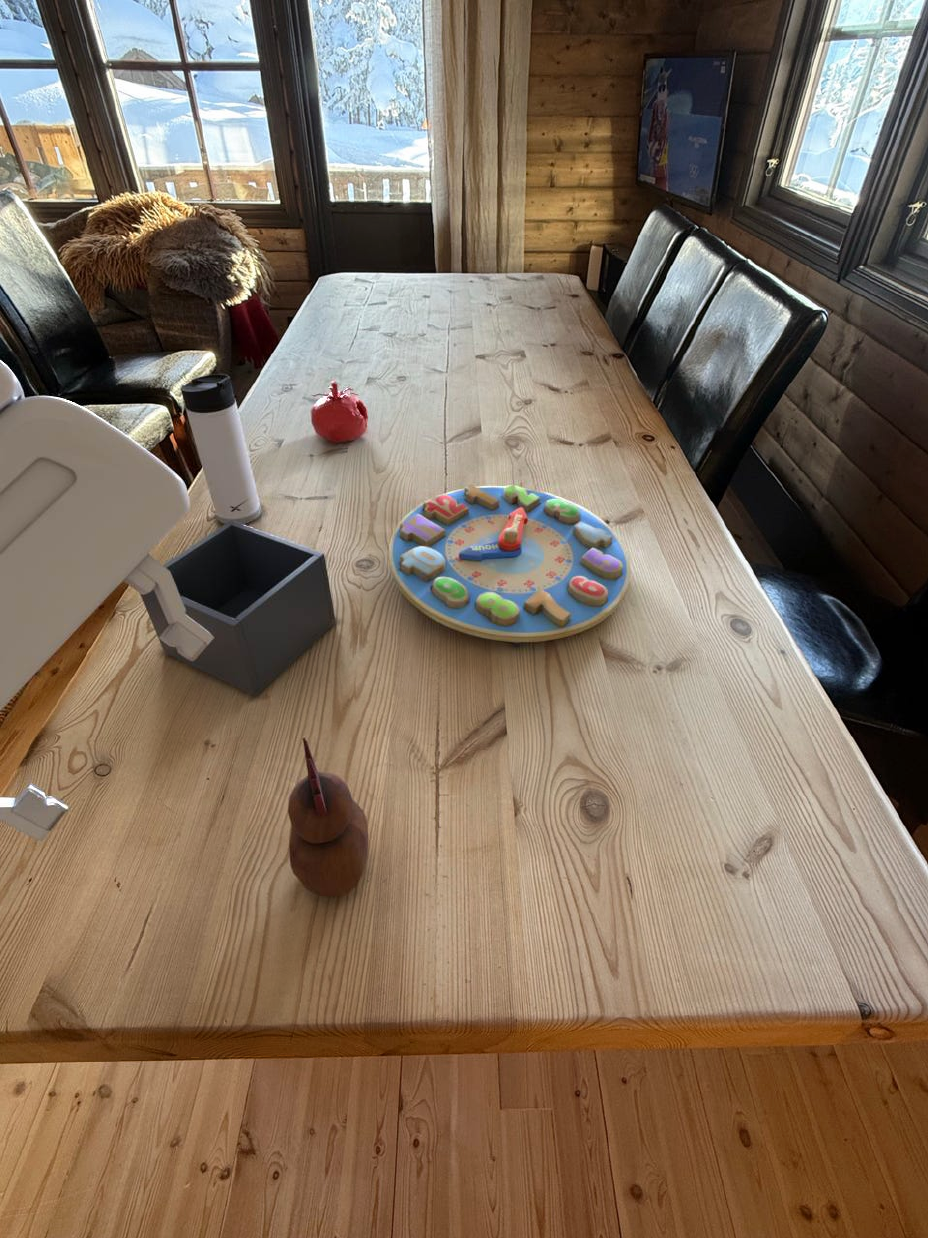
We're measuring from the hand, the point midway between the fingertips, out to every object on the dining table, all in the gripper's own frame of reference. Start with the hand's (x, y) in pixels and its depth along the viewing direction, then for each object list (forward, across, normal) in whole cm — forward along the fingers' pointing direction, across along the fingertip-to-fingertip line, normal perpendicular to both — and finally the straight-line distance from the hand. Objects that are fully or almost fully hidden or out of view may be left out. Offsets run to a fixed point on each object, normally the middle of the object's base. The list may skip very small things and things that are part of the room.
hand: (133, 731), depth 30 cm
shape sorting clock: (+29, +39, +36) cm, 61 cm away
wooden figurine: (+23, -1, +19) cm, 30 cm away
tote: (+10, +13, +44) cm, 47 cm away
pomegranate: (+6, +55, +75) cm, 93 cm away
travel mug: (+2, +29, +65) cm, 71 cm away
